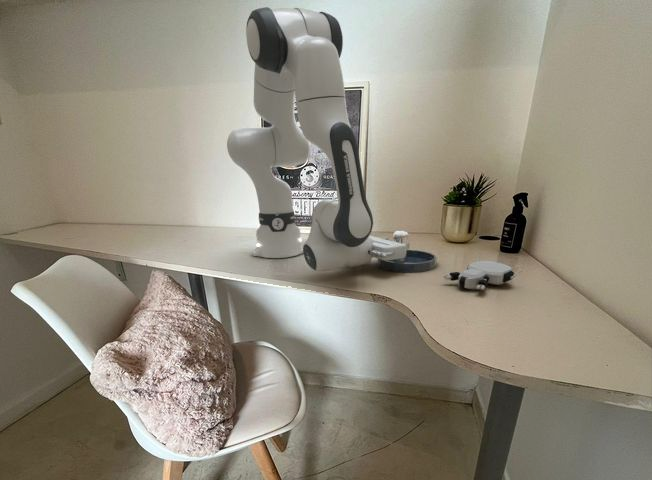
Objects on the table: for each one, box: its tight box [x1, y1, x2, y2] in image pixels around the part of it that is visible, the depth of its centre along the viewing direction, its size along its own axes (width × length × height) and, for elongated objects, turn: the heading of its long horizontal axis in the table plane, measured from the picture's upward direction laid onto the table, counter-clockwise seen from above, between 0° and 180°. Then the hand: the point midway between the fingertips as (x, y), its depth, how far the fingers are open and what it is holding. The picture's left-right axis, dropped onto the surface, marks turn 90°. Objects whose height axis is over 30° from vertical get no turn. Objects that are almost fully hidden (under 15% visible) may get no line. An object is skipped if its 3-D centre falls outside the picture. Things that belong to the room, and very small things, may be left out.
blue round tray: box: [377, 249, 438, 273], centre depth 101 cm, size 17×17×2 cm
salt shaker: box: [392, 230, 409, 262], centre depth 102 cm, size 5×5×10 cm
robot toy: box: [443, 259, 523, 291], centre depth 82 cm, size 12×4×15 cm
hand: (397, 242), depth 100 cm, fingers open, 8 cm apart
